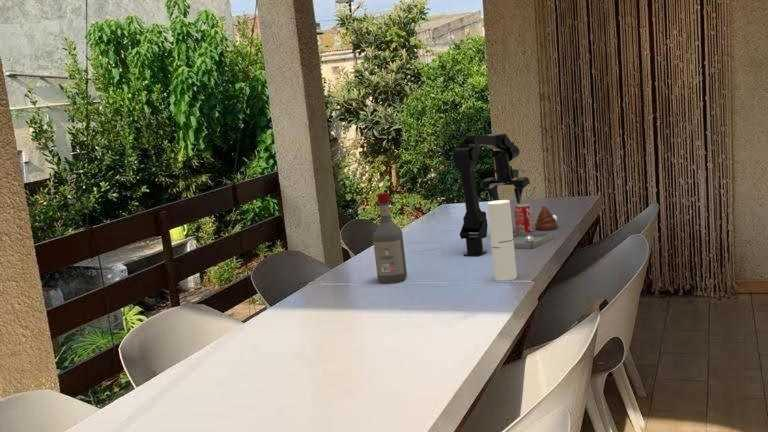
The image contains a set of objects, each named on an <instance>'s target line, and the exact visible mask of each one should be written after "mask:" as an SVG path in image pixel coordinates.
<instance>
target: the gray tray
mask: <svg viewBox="0 0 768 432" xmlns="http://www.w3.org/2000/svg"><path fill="white" fill-rule="evenodd" d="M554 234H555V233H554V232H533V233H521V232H516V231H515V232H514V233H513V241H514V249H525V250H527V249H529V250H533V249H535V248H538V247H539V246H541V245H543V244H545V243H547V242H549V241H551V240H553V239H555V235H554ZM528 235H530V236H532V237H533V238H534V242H533V243H525V241H524V239H525V237H526V236H528Z"/></svg>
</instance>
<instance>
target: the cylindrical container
mask: <svg viewBox="0 0 768 432" xmlns="http://www.w3.org/2000/svg"><path fill="white" fill-rule="evenodd" d="M511 210H512V209H511V201H510V200H509V199H501V200H500V199H499V200H497V201H495V200H491V201H488V202H487V213H488V223H489V232H490V233H489V235H490V243H491V252H492V253H491V256H492V264H493V265H492V266H493V274H494V275H493V277H494V281H500V282H506V281H507V282H508V281H512V280H516V279H517V278H518V277H517V276H518V275H517V273H518V272H517V264H516V253H515V248H514V241H513V234H514V233H513V230H514V229H513V222H512V221H513V220H512V211H511Z"/></svg>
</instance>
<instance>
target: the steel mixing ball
mask: <svg viewBox="0 0 768 432" xmlns="http://www.w3.org/2000/svg"><path fill="white" fill-rule="evenodd" d="M524 241H525V243H533V242H534V238H533V237H532V236H530V235H528V236H526V237H525V239H524Z"/></svg>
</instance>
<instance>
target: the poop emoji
mask: <svg viewBox="0 0 768 432" xmlns="http://www.w3.org/2000/svg"><path fill="white" fill-rule="evenodd" d="M557 220H558V216H557V215H555V214H552V212H551V211H550V210H549V209H548V207H547V206H544V205H543V206H542V207H541V209H540V212H539V213H538V216H537V218H536V223H534V228H535V229H536V230H541V231H545V232H549V231H552V230H553V231H554V230H556V229H557V228H558V223H557Z"/></svg>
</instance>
